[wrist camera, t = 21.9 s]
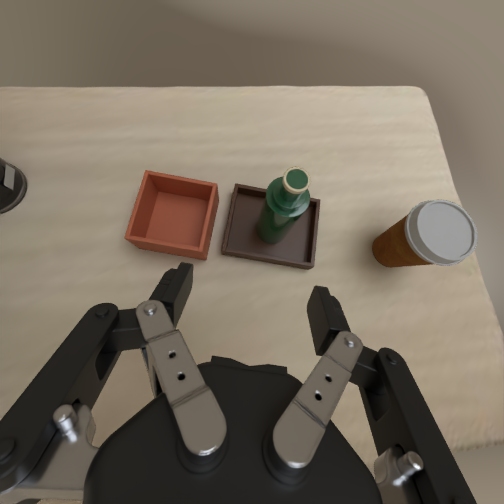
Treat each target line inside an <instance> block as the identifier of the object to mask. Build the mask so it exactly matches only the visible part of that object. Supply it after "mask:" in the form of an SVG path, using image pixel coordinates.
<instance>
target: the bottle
mask: <svg viewBox="0 0 504 504" xmlns="http://www.w3.org/2000/svg"><path fill="white" fill-rule="evenodd" d="M309 185H310V176H309V174H308V173H307V172H306V171H305V170H304V169H302V168H299V167H292V168H290V169H288V170H287V171H286V172H285V174H284V176H283V177H280V178H277V179H275V180H274V181H272V182H271V183H270V185H269V186H268V188H267V191H266V195H265V198H264V201H263V204H262V208H261V211H260V214H259V218H258V221H257V224H256V233H257V235H258V237H259V238H260V239H261V240H262V241H263V242H265V243H268V244H277V243H279V242H281V241H282V240H283V239H284V238H285V237H286V236H287V234H288V233H289V232H290V230H291V229H292V228H293V226H294V225H295V224H296V222H297V221H298V220H299V219H300V217H301V216H302V215H303V213H304V212H305V211H306V209H307V208H308V206H309V203H310V194H309V191H308V187H309Z"/></svg>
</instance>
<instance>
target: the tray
mask: <svg viewBox="0 0 504 504" xmlns="http://www.w3.org/2000/svg"><path fill="white" fill-rule="evenodd" d="M266 191H267V189H262V188H257V187H251V186H246V185H241V184H235V187H234V192H233V197H232V202H231V207H230V213H229V218H228V223H227V228H226V233H225V238H224V243H223V248H222V254H223V255H229V256H235V257H240V258H246V259H252V260H257V261H263V262H269V263H274V264H280V265H286V266H291V267H297V268H303V269H308V270H309V269H311V268H313V267H314V261H315V251H316V240H317V230H318V219H319V209H320V200H319V199H314V198H310V203H309V206H308V208H307V209H306V211H305V212H304V213H303V215H302V216H301V217H300V219H299V220H298V221H297V222H296V224H295V225H294V226H293V228H292V229H291V230H290V232H289V233H288V234H287V236H286V237H285V238H284V239H283V240H282V241H281V242H279V243H277V244H268V243H265V242H263V241H262V240H261V239H260V238H259V237H258V235H257V233H256V224H257V221H258V218H259V214H260V211H261V208H262V204H263V201H264V198H265V195H266Z"/></svg>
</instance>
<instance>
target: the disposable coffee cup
mask: <svg viewBox="0 0 504 504" xmlns="http://www.w3.org/2000/svg"><path fill="white" fill-rule="evenodd" d="M476 244H477V229H476V226H475V224H474V222H473V220H472V219H471V217H470V216H469V214H468V213H467V212H466V211H465V210H464V209H463V208H462V207H461V206H459V205H457V204H455V203H453V202H451V201H447V200H432V201H425V202H421V203H419V204H418V205H416V206H415V207H414V208H413V209H412V210H411V211H410V213H409V214H408V215H407V216H405V217H404V218H403V219H402V220H400V221H399V222H397V223H396V224H395V225H393V226H392V227H391V228H389V229H388V230H387V231H385V232H384V233H382V234H381V235H380V236H378V237H377V238H376V239H375V241H374V243H373V253H374V256H375V258H376V259H377V260H378V261H379V262H380V263H381V264H382V265H384V266H387V267H402V266H416V265H430V264H436V265H441V266H450V265H455V264H457V263H459V262H461V261H462V260H464V259H465V258H466V257H468V256H469V255H470V254H471V253H472V252H473V251H474V249H475V247H476Z"/></svg>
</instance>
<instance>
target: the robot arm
mask: <svg viewBox="0 0 504 504" xmlns="http://www.w3.org/2000/svg"><path fill="white" fill-rule="evenodd" d="M26 187H27V183H26V178H25V176H24V174H23V173H22V172H21V171H20V170H19V169H18V168H16V167H15V166H13V165H11V164H9V163H8V162H6V161H5V160H3V159H1V158H0V213H3V212H5V211H8V210H9V209H11V208H13V207H14V206H15V205H16V204H18V203H19V201H20V200H21V199H22V198H23V196H24V194H25V191H26ZM192 282H193V264H190V263H184V262H181V263H180V265H179V267H178V269H172V268H171V269H170V270H168V271H167V272H165V274H164V275H163V277H162V279H161V280H160V282H159V284H158V285H157V287H156V288H155V290H154V291H153V293H152V295H151V296H150V298H149V300H148V301H144V302H142V303H141V304H139V305H138V306H137V308H134V309H125V310H118V307H117V306H116V305H114V304H112V303H101V304H98V305H95V306H93V307H92V308H90V309H89V310H88V311H87V313H86V314H85V315H84V316H83V318H82V319H81V320H80V321H79V323H78V324H77V325H76V326H75V328H74V329H73V330H72V331H71V333H70V334H69V335H68V336H67V338H66V339H65V340H64V342H63V343H62V344H61V345H60V347H59V348H58V349H57V350H56V352H55V353H54V354H53V355H52V357H51V358H50V359H49V360H48V362H47V363H46V364H45V365H44V367H43V368H42V369H41V370H40V372H39V373H38V374H37V376H36V377H35V378H34V379H33V381H32V382H31V383H30V384H29V386H28V387H27V388H26V389H25V391H24V392H23V393H22V394H21V396H20V397H19V398H18V399H17V401H16V402H15V403H14V405H13V406H12V407H11V408H10V410H9V411H8V412H7V413H6V415H5V416H4V417H3V418H2V420H1V421H0V504H36V503H37V502H38V501H40V500H41V499H57V500H83V504H477V503H476V501H475V499H474V497H473V495H472V493H471V491H470V489H469V487H468V485H467V483H466V481H465V479H464V477H463V475H462V473H461V471H460V469H459V467H458V465H457V463H456V461H455V459H454V457H453V455H452V453H451V451H450V449H449V447H448V445H447V443H446V441H445V439H444V437H443V435H442V433H441V431H440V429H439V428H438V426H437V424H436V422H435V420H434V418H433V416H432V414H431V412H430V410H429V408H428V406H427V404H426V402H425V400H424V398H423V396H422V394H421V392H420V390H419V388H418V386H417V384H416V382H415V380H414V378H413V376H412V374H411V372H410V370H409V368H408V366H407V364H406V362H405V360H404V359H403V358H402V357H401V356H400V355H399V354H398V353H397V352H395V351H394V350H392V349H389V348H381V349H380V350H379V351H378V352H377V351H374V350H372V349H370V348H367V347H365V346H363V344H362V342H361V340H360V339H359V338H358V337H357V336H356V335H355V334H353V333H351V331H350V328H349V326H348V323H347V320H346V318H345V315H344V313H343V310H342V308H341V305H340V303H339V301H338V300H337V299H336V298H335V297H334V296H331V295H330V293H329V290H328V288H327V287H322V286H315V287H314V289H313V291H312V294H311V296H310V298H309V301H308V304H307V314H308V319H309V324H310V328H311V333H312V338H313V342H314V347H315V352H316V355H318V356H322V357H321V359H320V360H319V362H318V363H317V365H316V366H315V368H314V369H313V371H312V372H311V374H310V375H309V377H308V378H307V380H306V381H305V383H304V384H302V383H301V382H300V381H299V380H298V379H296V378H295V377H293V376H292V375H290V374H287V367H284V366H277V365H270V364H266V365H256V366H248V365H245V364H243V363H240V362H238V361H236V360H233V359H231V358H224V357H218V356H212V358H211V362H205V363H201V364H198V365H196V363H195V361H194V359H193V357H192V355H191V353H190V351H189V349H188V347H187V345H186V343H185V340H184V338H183V336H182V334H181V332H180V331H179V330H175V328H176V326H177V323H178V321H179V319H180V316H181V314H182V311H183V309H184V306H185V304H186V302H187V299H188V297H189V294H190V292H191V288H192ZM138 348H140V350H141V353H142V356H143V359H144V362H145V366H146V369H147V372H148V375H149V379H150V384H151V389H152V392H153V396H154V399H153V400H152V401H151V402H150V403H148V404H147V405H146V406H145V407H144V408H142V409H141V410H140V411H139V412H138V413H136V414H135V415H134V416H133V417H132V418H131V419H129V420H128V421H127V422H126V423H125V424H123V425H122V426H121V427H120V428H119V429H117V430H116V431H115V432H114V433H113V434H112V435H110V436H109V437H108V438H107V439H106V441H105V442H104V443H103V444H102V445H101V447H100V448H97V447H94V446H93V445H92V442H93V438H94V435H95V431H96V424H95V421H94V418H93V416H92V413H91V410H92V408H93V406H94V404H95V402H96V400H97V398H98V396H99V394H100V392H101V391H102V389H103V387H104V385H105V383H106V381H107V379H108V377H109V375H110V373H111V371H112V369H113V368H114V366H115V364H116V362H117V360H118V358H119V356H120V354H121V352H122V351H124V350H131V349H138ZM348 381H349V382H351V383H354V384H356V385H358V387H359V390H360V394H361V397H362V401H363V404H364V408H365V411H366V415H367V418H368V422H369V425H370V429H371V432H372V436H373V439H374V443H375V446H376V450H377V453H378V458H377V459H376V460H375V462H374V474H375V479H374V477H373V476H372V474H371V472H370V471H369V469H368V468H367V466H366V465H365V464H364V462H363V461H362V460H361V458H360V457H359V456H358V455H357V453H356V452H355V451H354V449H353V448H352V447H351V445H350V444H349V443H348V442H347V440H346V439H345V438H344V436H343V435H342V434H341V432H340V431H339V430H338V428H337V427H336V426H335V425H334V423H333V422H332V421H331V419H330V418H331V416H332V414H333V412H334V410H335V408H336V406H337V404H338V402H339V400H340V397H341V395H342V393H343V391H344V389H345V387H346V385H347V383H348Z"/></svg>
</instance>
